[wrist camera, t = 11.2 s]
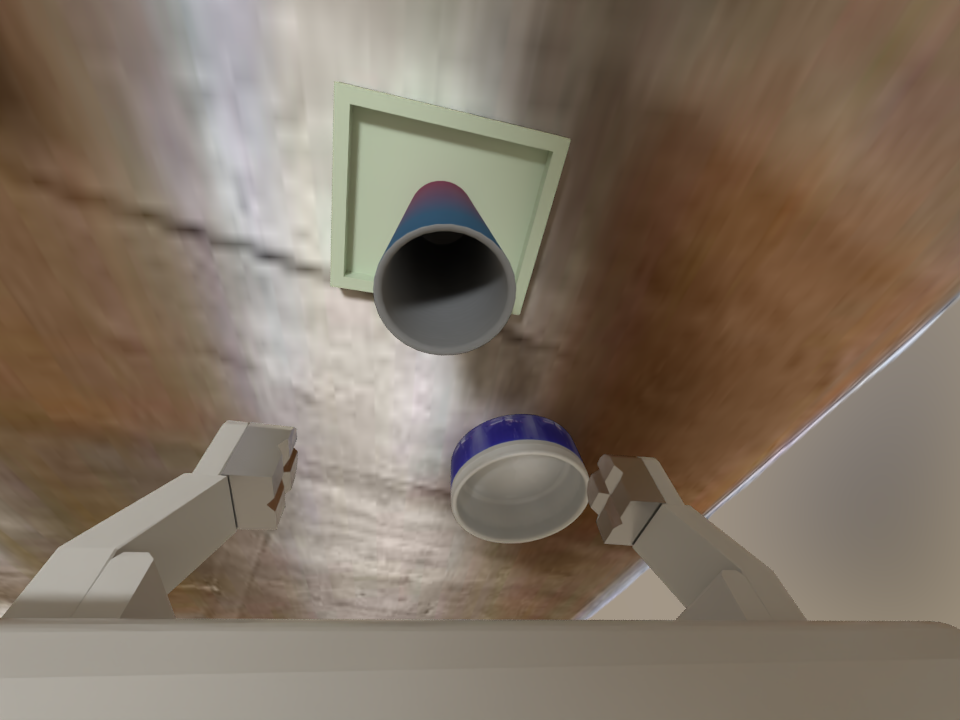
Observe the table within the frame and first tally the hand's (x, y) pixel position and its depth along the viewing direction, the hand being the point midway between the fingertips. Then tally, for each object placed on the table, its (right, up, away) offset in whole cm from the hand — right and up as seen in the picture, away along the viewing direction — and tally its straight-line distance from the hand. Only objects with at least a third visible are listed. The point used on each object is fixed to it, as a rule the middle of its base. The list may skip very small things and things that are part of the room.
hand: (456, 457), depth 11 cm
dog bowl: (+5, -9, +39) cm, 40 cm away
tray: (-2, +14, +22) cm, 26 cm away
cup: (-2, +14, +21) cm, 26 cm away
